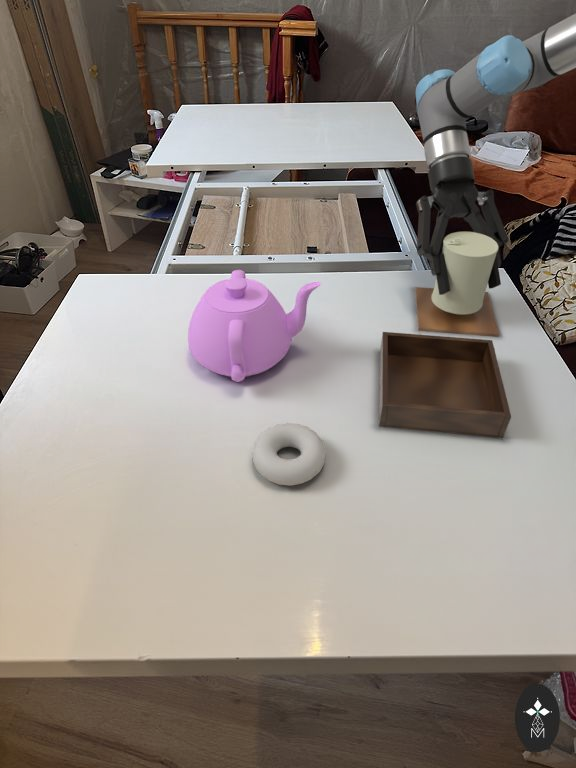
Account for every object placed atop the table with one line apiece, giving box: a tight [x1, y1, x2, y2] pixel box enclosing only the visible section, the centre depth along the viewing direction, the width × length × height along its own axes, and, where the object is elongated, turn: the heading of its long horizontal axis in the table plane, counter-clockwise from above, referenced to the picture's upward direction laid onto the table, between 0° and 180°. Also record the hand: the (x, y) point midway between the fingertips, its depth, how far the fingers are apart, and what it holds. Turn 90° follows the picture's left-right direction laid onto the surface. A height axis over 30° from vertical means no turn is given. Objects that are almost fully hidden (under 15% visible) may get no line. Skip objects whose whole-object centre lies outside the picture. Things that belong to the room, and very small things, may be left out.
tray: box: [378, 331, 512, 439], centre depth 82 cm, size 18×18×4 cm
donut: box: [251, 422, 327, 486], centre depth 72 cm, size 10×4×10 cm
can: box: [431, 231, 498, 315], centre depth 94 cm, size 9×9×12 cm
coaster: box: [414, 286, 500, 338], centre depth 100 cm, size 14×14×1 cm
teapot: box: [187, 269, 322, 383], centre depth 86 cm, size 22×22×14 cm
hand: (470, 289), depth 93 cm, fingers closed on can, 9 cm apart
